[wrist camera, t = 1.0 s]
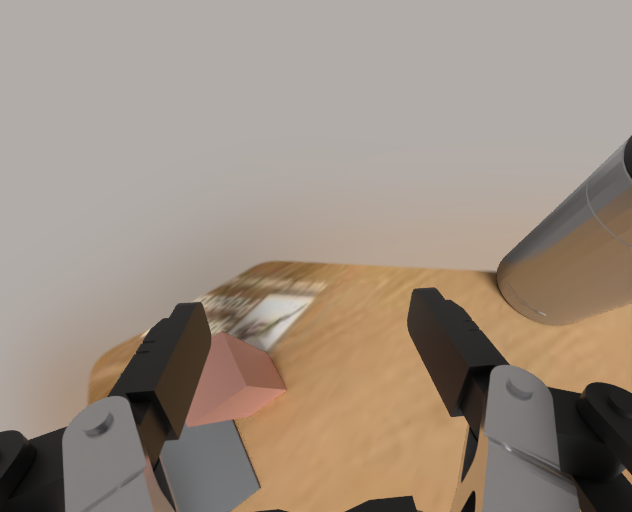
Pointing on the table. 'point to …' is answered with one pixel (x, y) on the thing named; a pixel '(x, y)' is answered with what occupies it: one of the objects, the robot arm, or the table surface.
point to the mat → (209, 468)
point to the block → (233, 382)
